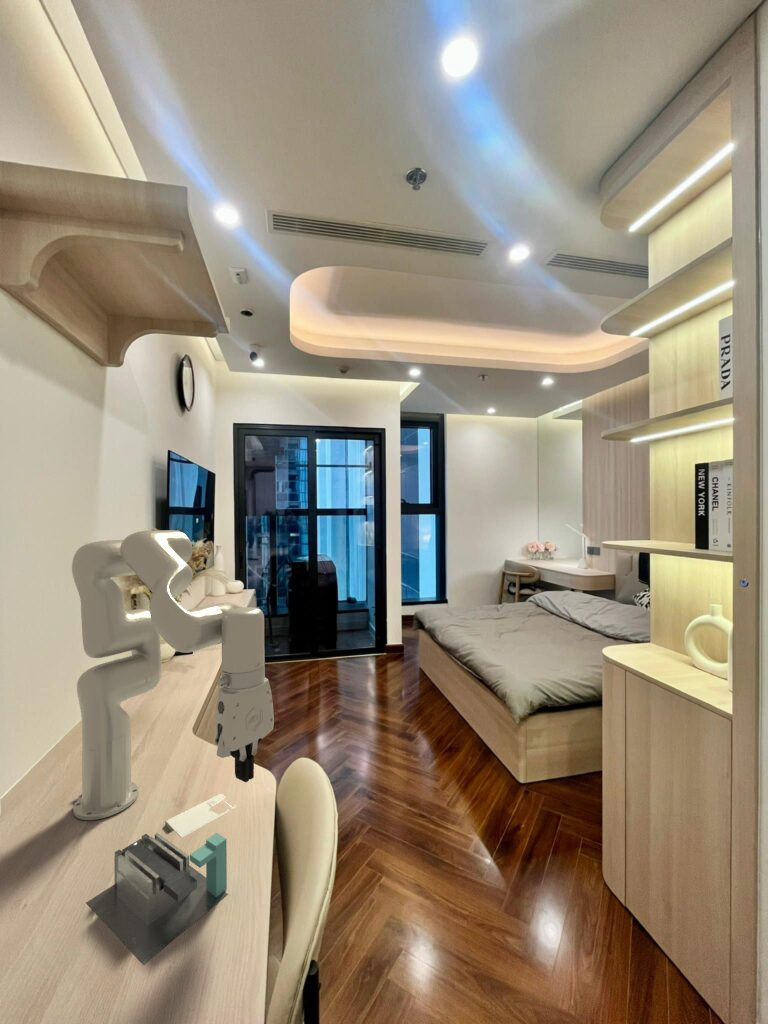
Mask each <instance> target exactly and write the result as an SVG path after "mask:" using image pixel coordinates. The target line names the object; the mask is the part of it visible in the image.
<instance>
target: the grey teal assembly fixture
mask: <svg viewBox="0 0 768 1024" xmlns="http://www.w3.org/2000/svg"><path fill="white" fill-rule="evenodd" d="M141 839H142V841H143V844H144V845H145V846H147V847H148V848H149V849H151V850H152V851H153V852H155V853H156V854H157V855H159V856H160V857H161V858H163V859H164V860H165V861H167V862H168V863H169V864H171V865H172V866H173V867H175V868H176V869H177V870H179V871H181V870H184V871H185V872H187V873H188V874H189V875H191V876H192V877H193V878H195V879H196V880H197V888H196V889H195V890H194V891H192V892H191V893H190V894H189V895H187V896H186V897H185V898H183V899H182V900H181V901H179V902H177V901H175V900H174V899H173V898H172V897H171V896H169V895H168V894H167V893H166V892H164V886H163V885H161V884H160V883H159V876H158V875H157V874H156V873H155V872H154V871H152V870H151V869H150V868H149V867H147V866H146V865H145V864H144V863H143V862H141V861H140V860H139V859H138V858H137V857H135V856H134V855H133V854H132V853H130V852H129V851H126V852H125V857H124V856H123V852H122V849H118V850H116V851H114V884H113V885H111V886H110V887H108V888H106V889H105V890H104V891H101V892H100V893H99V894H97V895H96V896H94V897H93V898H91V899H89V900H88V901H86V902H85V903H86V905H87V906H88V907H89V908H90V909H91V910H92V911H93V912H94V913H95V914H96V915H97V916H98V917H99V919H101V920H102V922H103V923H104V924H105V925H106V926H107V927H108V928H109V929H110V930H111V931H112V932H113V933H114V935H115V936H116V937H118V939H119V940H120V941H121V943H123V944H124V946H126V948H127V949H128V950H129V951H130V952H131V953H132V954H133V955H134V956H135V957H136V958H137V959H138V960H139V962H140V963H141V964H142V965H146V964H147V963H148V962H149V961H150V960H151V959H153V958H154V957H155V956H156V955H158V954H159V953H160V952H161V951H162V950H163V949H164V948H166V947H167V946H169V944H171V943H172V942H173V941H174V940H176V939H177V938H178V937H179V936H180V935H181V934H183V933H184V932H186V930H187V929H189V928H190V927H191V926H192V925H193V924H195V923H196V922H197V921H198V920H199V919H201V918H202V917H203V916H204V915H206V913H208V912H209V911H210V910H211V909H213V908H214V907H215V906H216V905H218V903H220V902H221V901H223V900H224V899H225V898H226V897H227V896H228V895H229V894H228V892H227V891H226V890H225V891H224V892H222V893H221V894H220V895H219V896H218V897H215V896H214V895H213V894H211V893H210V892H209V891H207V890H206V875H204V874H202V873H201V872H199V871H198V870H197V869H195V868H194V867H192V865H190V854H188V853H186V852H185V851H183V849H180V847H178V846H177V845H175V844H173V843H172V842H171V841H170V840H168V839H167V838H166V837H164V836H163V835H161V834H160V833H158V832H156V833H155V834H154V837H153V836H150V835H149V834H148V833H144V834H143V835H141Z"/></svg>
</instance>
